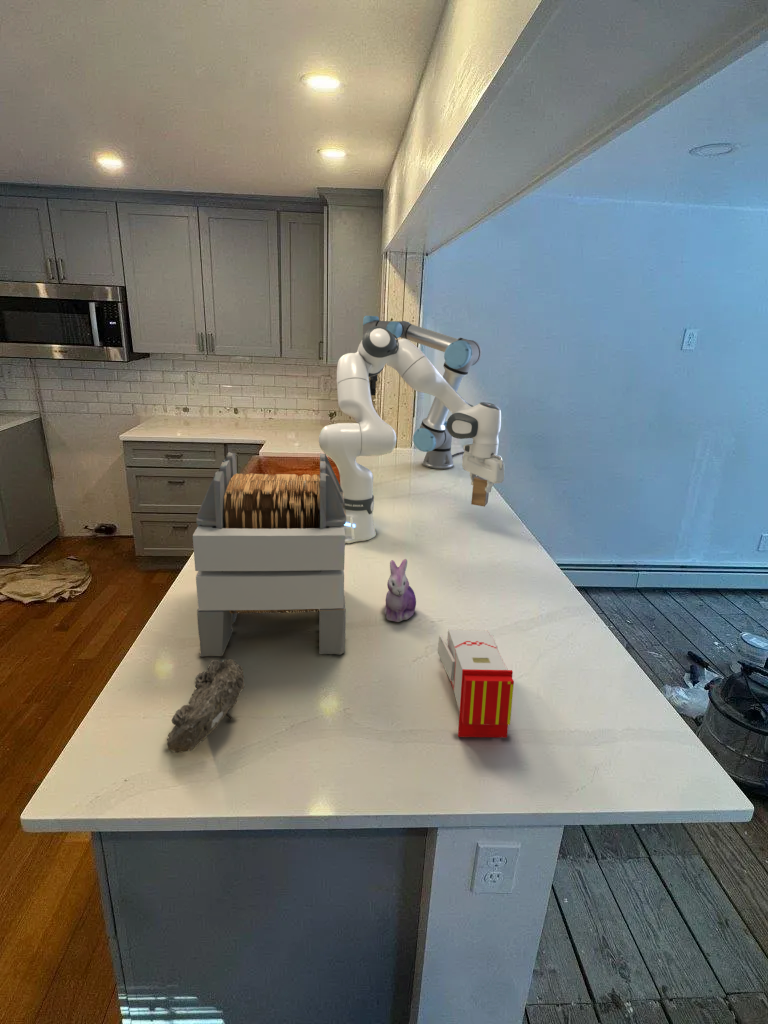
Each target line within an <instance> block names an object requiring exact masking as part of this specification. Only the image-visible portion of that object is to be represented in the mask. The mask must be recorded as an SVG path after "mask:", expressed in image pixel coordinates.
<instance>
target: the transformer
mask: <svg viewBox="0 0 768 1024" xmlns="http://www.w3.org/2000/svg"><path fill="white" fill-rule="evenodd" d="M195 521H196V525H197V527H196V529H195V530H194V532H193V534H192V544H193V545H192V546H193V558H194V559H193V560H194V571H195V572H197V573H196V576H195V584H196V597H197V610H196V619H197V631H198V639H199V651H200V652H199V656H200V657H201V658H207V657H223V655H224V653H225V651H226V648H227V647H228V644H229V641H230V639H231V638H232V637H231V636H232V634H233V624H235V623H236V619H237V617H238V614H257V613H258V614H263V613H264V614H266V613H267V614H277V613H278V614H282V613H283V614H288V613H291V614H292V613H308V612H309V613H317V612H318V613H319V614H318V615H319V616H318V618H319V621H318V622H319V626H318V627H319V628H318V629H319V630H318V632H319V634H318V636H319V637H318V638H319V639H318V640H319V646H318V649H319V652H318V653H319V655H341V656H342V654H344V653H346V626H347V625H346V623H347V621H346V619H347V617H346V616H347V608H346V596H345V559H346V558H345V556H346V555H345V554H346V553H345V552H346V543H345V530H344V524H345V523H346V511H345V503H344V496H343V491H342V489H341V486H340V481H339V480H338V477H337V475H336V474H335V472H334V469H333V467H332V465H331V463H330V461H329V459H328V456H327V455H326V454H325V453H321V452H320V453H319V474H312V475H311V474H307V473H304V474H302V475H299V474H295V473H276V474H271V473H270V474H268V473H238V472H237V457H236V452H227V454H226V456H225V458H224V459H223V460H222V461H221V464H220V466H219V468H218V470H217V471H215V473H214V475H213V477H212V479H211V482H210V484H209V486H208V488H207V491H206V493H205V496H204V498H203V500H202V502H201V505H200V507H199V509H198V512H197V514H196V517H195Z"/></svg>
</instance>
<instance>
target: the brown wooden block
mask: <svg viewBox="0 0 768 1024" xmlns="http://www.w3.org/2000/svg"><path fill="white" fill-rule="evenodd" d="M487 485H488V483H487V480H486V479H484V478H481V477H479V476H477V475H476V477H475V478H474V482H473V485H472V493H471V501H470V502H471V503H470V504H471V505H472V506H473V505H474V506H479V507H483V508H484V507H486V506H487V504H489V496H490V492H489V493H487V492H485V491H484V490H485V487H487Z"/></svg>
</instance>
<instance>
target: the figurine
mask: <svg viewBox="0 0 768 1024" xmlns="http://www.w3.org/2000/svg"><path fill="white" fill-rule="evenodd" d="M407 567H408V559H406V558H404V559H403V560H402V561H401V563H400V565H399V566H398V565H397V563H396V562H395V561H394V560H393V559H391V560H390V561H389V570H390V576H389V578H388V579H387V589H388V591H387V592H386V594H385V595H386V596H385V607H384V615H385V616H386V620H387V621H391V622H395V623H400V622H402V621H406V620H409V619H410V618H411V617H413V616H414V615H415V610H416V606H417V597H416V593H415V591H414V590H413V587H411V586H410V582H409V579H408V577H407V574H406V571H407Z"/></svg>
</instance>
